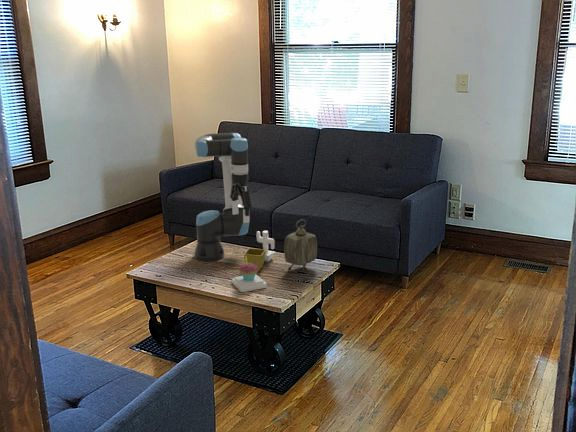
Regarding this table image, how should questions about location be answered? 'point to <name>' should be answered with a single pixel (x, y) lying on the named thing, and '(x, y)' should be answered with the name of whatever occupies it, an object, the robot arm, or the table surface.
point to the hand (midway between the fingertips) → (240, 218)
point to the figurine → (266, 244)
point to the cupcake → (248, 270)
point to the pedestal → (249, 283)
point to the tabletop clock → (300, 247)
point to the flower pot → (255, 257)
